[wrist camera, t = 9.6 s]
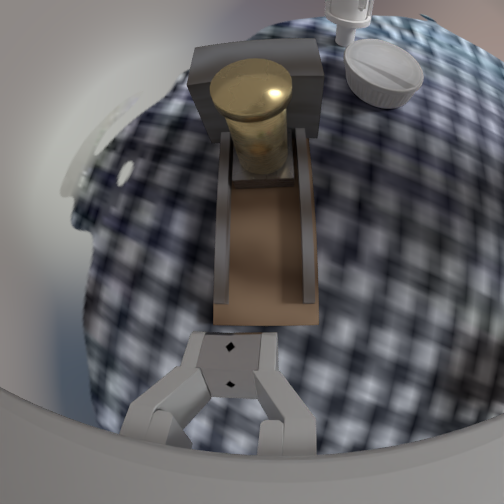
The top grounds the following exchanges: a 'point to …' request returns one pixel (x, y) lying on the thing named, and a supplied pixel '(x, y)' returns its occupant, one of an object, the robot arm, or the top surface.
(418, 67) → the ramekin
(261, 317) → the rail mount
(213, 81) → the knob
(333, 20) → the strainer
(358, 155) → the top surface
